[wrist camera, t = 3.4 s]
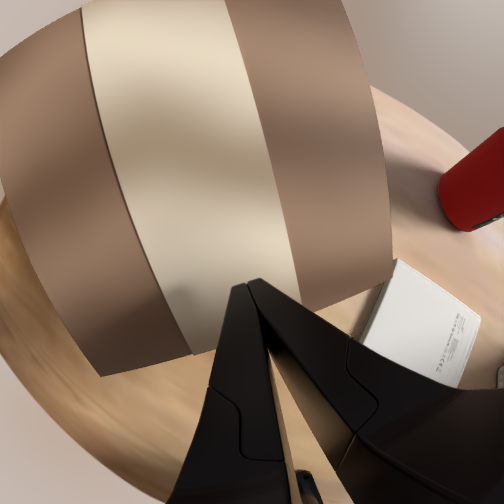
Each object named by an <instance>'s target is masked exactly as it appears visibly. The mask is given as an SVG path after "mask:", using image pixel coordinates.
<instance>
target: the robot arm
mask: <svg viewBox="0 0 504 504" xmlns="http://www.w3.org/2000/svg"><path fill="white" fill-rule="evenodd" d="M268 351H269V352H268ZM269 353H270V355H271V357H272V359H273V361H274V363H275V365H276V367H277V369H278V371H279V373H280V374H281V376H282V378H283V380H284V382H285V384H286V386H287V387H288V389H289V391H290V393H291V395H292V397H293V398H294V400H295V402H296V404H297V406H298V408H299V409H300V411H301V413H302V415H303V417H304V418H305V420H306V422H307V424H308V426H309V427H310V429H311V431H312V433H313V434H314V436H315V438H316V440H317V441H318V443H319V445H320V447H321V448H322V450H323V452H324V454H325V455H326V457H327V459H328V461H329V462H330V464H331V466H332V467H333V469H334V471H336V474H337V476H338V478H339V479H340V481H341V483H342V484H343V486H344V488H345V489H346V491H347V493H348V494H349V496H350V497H351V499H352V501H353V502H354V504H504V388H495V389H474V390H468V389H459V388H454V387H450V386H447V385H444V384H442V383H439V382H437V381H435V380H433V379H430V378H428V377H426V376H424V375H422V374H419V373H417V372H415V371H413V370H411V369H408V368H406V367H404V366H402V365H400V364H398V363H396V362H394V361H392V360H390V359H388V358H386V357H384V356H382V355H380V354H378V353H377V352H375V351H373V350H372V349H370V348H368V347H366V346H365V345H363V344H362V343H360V342H358V341H357V340H355V339H354V338H350V336H349V335H347V334H346V333H344V332H343V331H341V330H340V329H338V328H337V327H335V326H333V325H332V324H330V323H329V322H327V321H326V320H324V319H323V318H321V317H320V316H318V315H317V314H315V313H314V312H312V311H310V310H309V309H307V308H306V307H304V306H303V305H301V304H300V303H298V302H297V301H295V300H294V299H292V298H291V297H289V296H288V295H286V294H285V293H283V292H282V291H280V290H279V289H277V288H276V287H274V286H273V285H271V284H270V283H268V282H267V281H265V280H264V279H262V278H256V279H253V280H250V281H248V282H247V284H246V283H240V284H237V285H234V286H232V287H231V290H230V294H229V298H228V303H227V307H226V311H225V315H224V319H223V324H222V328H221V332H220V336H219V340H218V345H217V349H216V353H215V358H214V362H213V366H212V371H211V375H210V379H209V384H208V385H209V387H208V388H207V392H206V396H205V401H204V404H203V408H202V412H201V416H200V419H199V422H198V425H197V428H196V431H195V434H194V437H193V440H192V443H191V445H190V448H189V450H188V453H187V456H186V458H185V461H184V463H183V466H182V469H181V471H180V474H179V476H178V479H177V482H176V484H175V486H174V489H173V491H172V493H171V495H170V497H169V499H168V500H167V502H166V503H165V504H323V501H322V499H321V496H320V494H319V492H318V489H317V487H316V484H315V482H314V479H313V477H312V474H311V473H310V472H309V471H303V472H300V473H298V474H295V470H294V466H293V461H292V457H291V452H290V447H289V443H288V438H287V434H286V429H285V424H284V420H283V415H282V411H281V406H280V401H279V397H278V392H277V388H276V383H275V378H274V374H273V369H272V364H271V360H270V356H269ZM305 475H308V476H307V477H304V476H305Z"/></svg>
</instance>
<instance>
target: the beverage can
mask: <svg viewBox="0 0 504 504" xmlns="http://www.w3.org/2000/svg"><path fill="white" fill-rule="evenodd" d="M438 189H439V198H440V202H441V205H442V207H443V210H444V212H445V213H446V215H447V217H448V218H449V220H450V221H451V222H452V223H453V224H454V225H455V226H456V227H457V228H458V229H460V230H462V231H465V232H471V231H474V230H476V229H478V228H481V227H483V226H485V225H488V224H490V223H492V222H494V221H496V220H499V219H501V218H503V217H504V127H502V128H500V129H498V130H497V131H496V132H495V133H494V134H492V135H491V136H490V137H489V138H487V139H486V140H485V141H484V142H483V143H481V144H480V145H479V146H478V147H477V148H475V149H474V150H473V151H472V152H470V153H469V154H468V155H467V156H465V157H464V158H463V159H462V160H461V161H459V162H458V163H457V164H456V165H454V166H453V167H452V168H451V169H450V170H448V171H447V172H446V173H445V174H443V176H442V177H441V179H440V181H439V188H438Z"/></svg>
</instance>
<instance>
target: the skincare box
mask: <svg viewBox="0 0 504 504" xmlns="http://www.w3.org/2000/svg"><path fill="white" fill-rule="evenodd" d="M497 388H504V366H502V367H501V368H500V369H499V370H498V386H497Z"/></svg>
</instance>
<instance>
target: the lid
mask: <svg viewBox="0 0 504 504" xmlns="http://www.w3.org/2000/svg"><path fill="white" fill-rule="evenodd" d="M0 178H1V181H2V185H3V188H4V192H5V195H6V199H7V202H8V205H9V208H10V211H11V214H12V217H13V220H14V222H15V225H16V228H17V231H18V233H19V236H20V238H21V241H22V243H23V246H24V248H25V250H26V253H27V255H28V257H29V259H30V262H31V264H32V266H33V268H34V270H35V272H36V274H37V276H38V278H39V280H40V282H41V284H42V286H43V288H44V290H45V292H46V294H47V296H48V298H49V299H50V301H51V303H52V305H53V307H54V308H55V310H56V312H57V313H58V315H59V317H60V319H61V320H62V322H63V323H64V325H65V327H66V328H67V330H68V331H69V333H70V335H71V336H72V338H73V339H74V341H75V342H76V344H77V345H78V347H79V348H80V350H81V351H82V352H83V354H84V355H85V357H86V358H87V359H88V361H89V362H90V364H91V365H92V366H93V368H94V369H95V370H96V372H97V373H98V374H99V375H100V377H103V376H108V375H112V374H117V373H121V372H126V371H130V370H134V369H138V368H142V367H146V366H150V365H154V364H158V363H162V362H166V361H169V360H173V359H177V358H180V357H184V356H187V355H191V354H193V355H197V354H201V353H204V352H207V351H211V350H214V349H217V345H218V340H219V336H220V332H221V328H222V324H223V319H224V315H225V311H226V307H227V303H228V298H229V294H230V290H231V287H232V286H234V285H237V284H240V283H246V284H247V282H248V281H250V280H253V279H256V278H262V279H264V280H265V281H267V282H268V283H270V284H271V285H273V286H274V287H276V288H277V289H279V290H280V291H282V292H283V293H285V294H286V295H288V296H289V297H291V298H292V299H294V300H295V301H297V302H298V303H300V304H301V305H303V306H304V307H306V308H307V309H309V310H310V311H312V312H316V311H318V310H321V309H323V308H326V307H328V306H330V305H333V304H335V303H338V302H340V301H342V300H345V299H347V298H349V297H352V296H354V295H356V294H359V293H361V292H363V291H365V290H368V289H370V288H372V287H374V286H376V285H379V284H381V283H383V282H385V281H387V280H389V279H391V278H393V254H392V229H391V214H390V202H389V192H388V183H387V175H386V167H385V160H384V153H383V147H382V141H381V136H380V130H379V125H378V120H377V115H376V111H375V106H374V102H373V98H372V93H371V89H370V85H369V82H368V78H367V74H366V71H365V67H364V64H363V61H362V57H361V54H360V51H359V48H358V45H357V42H356V39H355V36H354V33H353V30H352V27H351V25H350V22H349V19H348V17H347V14H346V12H345V9H344V7H343V4H342V2H341V0H93V1H91V2H88V3H86V4H84V5H82V7H81V8H79V9H77V10H75V11H73V12H71V13H69V14H67V15H65V16H63V17H61V18H59V19H58V20H56V21H54V22H52V23H51V24H49V25H47V26H45V27H44V28H42V29H40V30H39V31H37V32H36V33H34V34H32V35H31V36H29V37H28V38H26V39H25V40H23V41H22V42H20V43H19V44H18V45H16V46H15V47H13V48H12V49H11V50H9V51H8V52H7V53H5V54H4V55H3V56H2V57H0Z"/></svg>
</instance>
